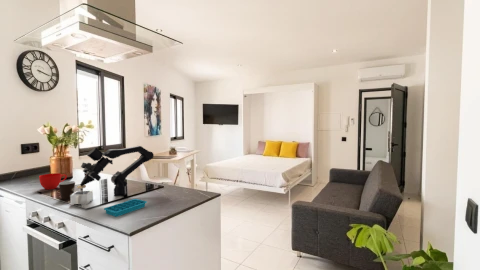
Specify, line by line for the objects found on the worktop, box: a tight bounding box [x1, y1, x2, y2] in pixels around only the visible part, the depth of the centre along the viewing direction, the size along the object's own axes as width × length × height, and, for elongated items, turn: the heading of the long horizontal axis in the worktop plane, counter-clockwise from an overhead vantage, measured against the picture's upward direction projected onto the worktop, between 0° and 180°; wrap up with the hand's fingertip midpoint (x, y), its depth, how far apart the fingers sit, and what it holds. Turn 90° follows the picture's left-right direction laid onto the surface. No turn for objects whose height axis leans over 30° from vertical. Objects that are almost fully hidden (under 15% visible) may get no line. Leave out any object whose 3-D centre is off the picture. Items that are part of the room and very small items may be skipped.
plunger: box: [77, 184, 87, 194], centre depth 149 cm, size 7×7×8 cm
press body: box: [69, 189, 94, 206], centre depth 148 cm, size 9×12×6 cm
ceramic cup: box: [38, 172, 68, 190], centre depth 182 cm, size 13×17×10 cm
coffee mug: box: [58, 180, 76, 200], centre depth 159 cm, size 12×9×10 cm
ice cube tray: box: [103, 198, 148, 218], centre depth 136 cm, size 12×20×3 cm, turn 150°
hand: (80, 185), depth 148 cm, fingers closed, pressing on plunger
